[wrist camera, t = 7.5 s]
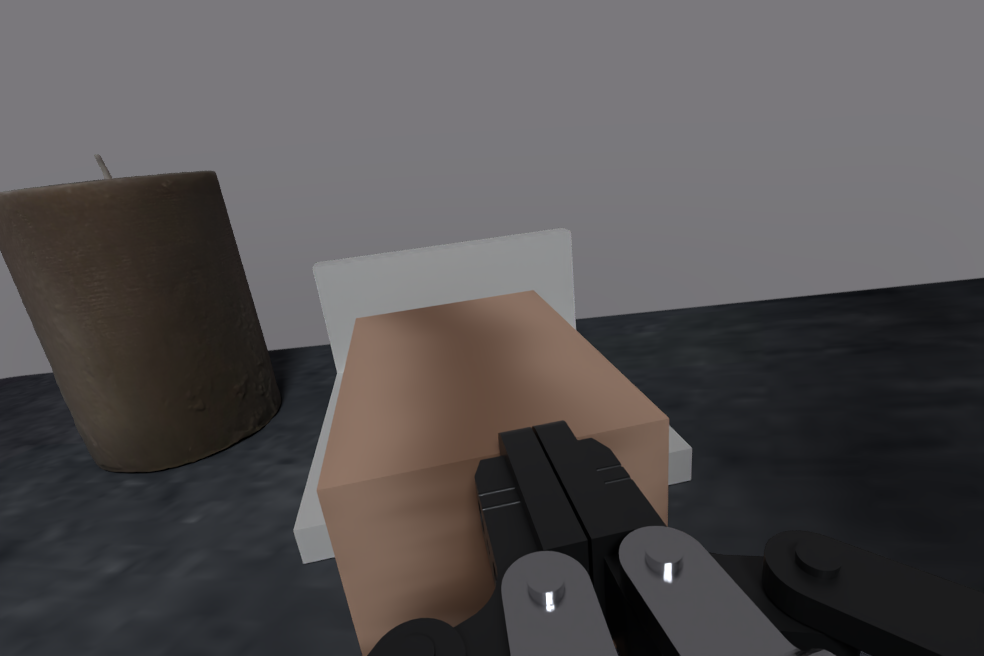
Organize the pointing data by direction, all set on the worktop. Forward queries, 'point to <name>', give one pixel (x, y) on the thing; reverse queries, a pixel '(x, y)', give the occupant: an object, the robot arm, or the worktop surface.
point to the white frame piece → (429, 283)
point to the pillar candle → (142, 314)
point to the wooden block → (458, 445)
